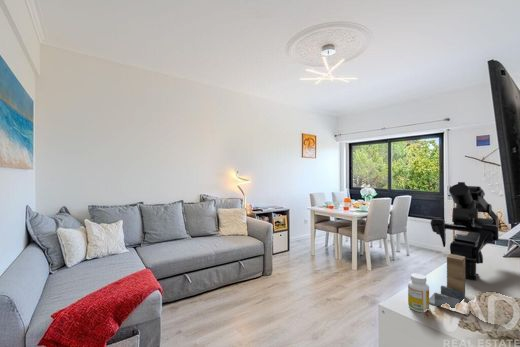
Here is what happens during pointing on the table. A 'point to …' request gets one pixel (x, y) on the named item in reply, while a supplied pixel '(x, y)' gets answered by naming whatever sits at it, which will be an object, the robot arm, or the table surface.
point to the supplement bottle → (418, 293)
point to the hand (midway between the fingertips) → (460, 249)
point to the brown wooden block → (456, 272)
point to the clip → (447, 297)
